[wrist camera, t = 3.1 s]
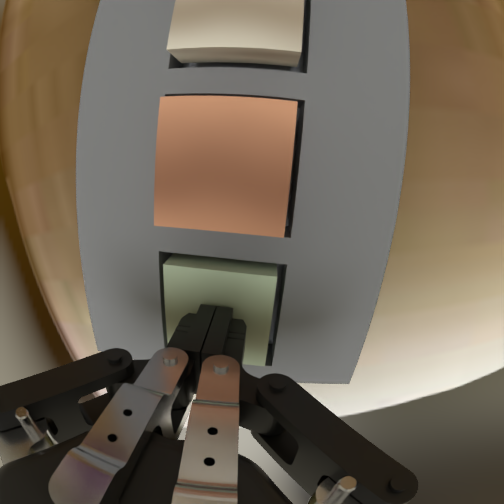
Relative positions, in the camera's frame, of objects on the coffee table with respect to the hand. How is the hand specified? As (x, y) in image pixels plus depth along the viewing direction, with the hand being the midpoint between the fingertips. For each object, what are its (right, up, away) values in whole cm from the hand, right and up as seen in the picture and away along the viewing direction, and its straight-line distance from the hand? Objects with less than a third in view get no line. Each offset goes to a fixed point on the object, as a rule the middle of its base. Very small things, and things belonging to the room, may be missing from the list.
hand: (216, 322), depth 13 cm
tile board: (+1, +8, +1) cm, 8 cm away
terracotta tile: (+1, +7, -1) cm, 7 cm away
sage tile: (0, +1, +2) cm, 2 cm away
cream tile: (+1, +14, -4) cm, 14 cm away
